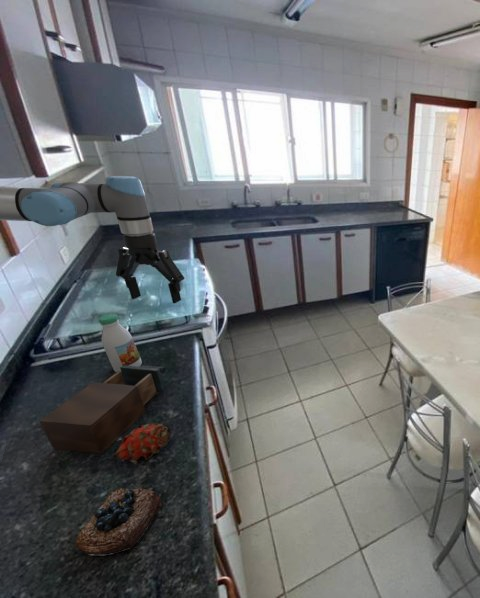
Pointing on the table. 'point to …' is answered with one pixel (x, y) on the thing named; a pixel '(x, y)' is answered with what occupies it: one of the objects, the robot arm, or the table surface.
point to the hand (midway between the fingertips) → (156, 299)
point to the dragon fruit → (143, 442)
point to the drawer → (140, 379)
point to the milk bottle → (118, 343)
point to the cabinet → (93, 417)
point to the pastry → (119, 521)
